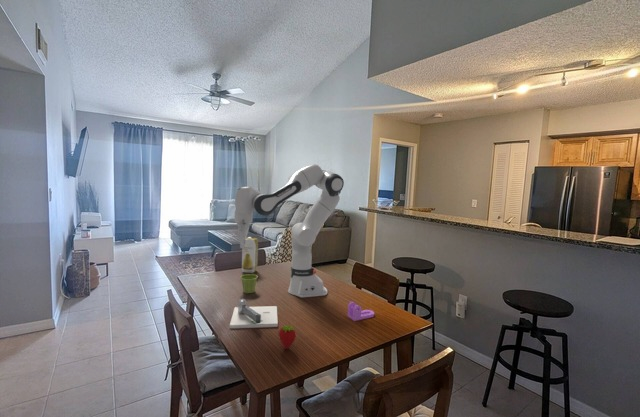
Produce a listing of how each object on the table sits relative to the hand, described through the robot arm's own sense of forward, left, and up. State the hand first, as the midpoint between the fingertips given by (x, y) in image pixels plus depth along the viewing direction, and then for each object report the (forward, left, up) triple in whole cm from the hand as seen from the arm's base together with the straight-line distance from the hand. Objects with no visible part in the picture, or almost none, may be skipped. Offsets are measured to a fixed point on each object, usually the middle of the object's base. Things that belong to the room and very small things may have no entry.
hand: (242, 245), depth 152 cm
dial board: (-8, +19, -29) cm, 36 cm away
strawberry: (-21, +45, -29) cm, 58 cm away
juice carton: (-1, -51, -29) cm, 59 cm away
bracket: (-58, +21, -30) cm, 68 cm away
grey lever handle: (-5, +23, -27) cm, 36 cm away
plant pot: (-3, -14, -29) cm, 32 cm away
